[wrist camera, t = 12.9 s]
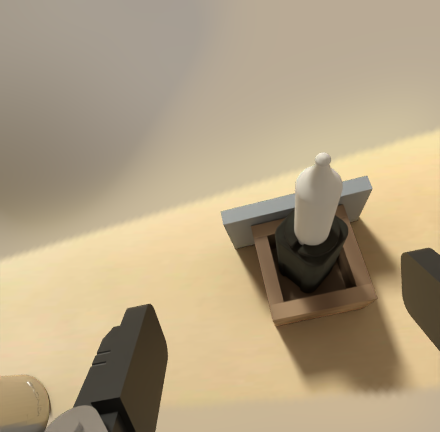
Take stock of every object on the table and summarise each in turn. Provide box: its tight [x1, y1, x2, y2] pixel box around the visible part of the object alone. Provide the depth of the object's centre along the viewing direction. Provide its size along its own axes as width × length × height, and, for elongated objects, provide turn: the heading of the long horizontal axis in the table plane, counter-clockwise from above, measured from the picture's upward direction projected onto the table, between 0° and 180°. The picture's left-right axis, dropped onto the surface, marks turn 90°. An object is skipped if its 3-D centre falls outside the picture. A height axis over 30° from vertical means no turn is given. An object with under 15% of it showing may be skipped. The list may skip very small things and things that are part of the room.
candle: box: [275, 153, 348, 293], centre depth 30 cm, size 5×5×25 cm
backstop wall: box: [221, 176, 372, 249], centre depth 41 cm, size 16×2×9 cm, turn 101°
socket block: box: [251, 204, 378, 326], centre depth 39 cm, size 10×10×7 cm
